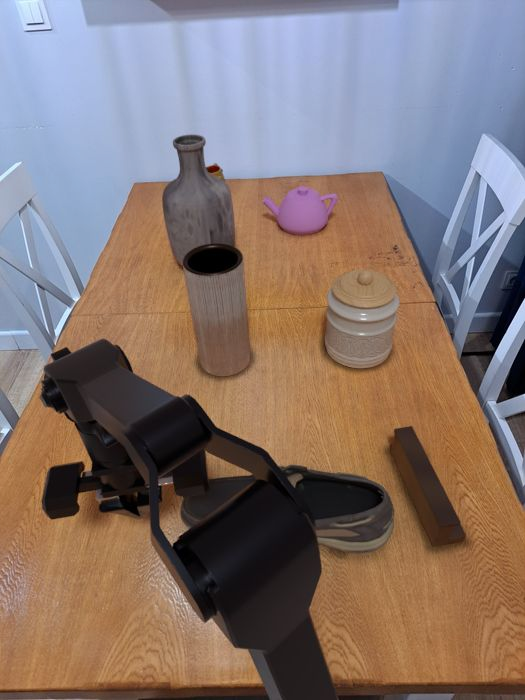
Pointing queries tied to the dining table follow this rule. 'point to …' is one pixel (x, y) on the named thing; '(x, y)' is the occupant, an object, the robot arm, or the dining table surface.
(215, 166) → the mug
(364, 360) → the jar
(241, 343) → the planter
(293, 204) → the teapot
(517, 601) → the dining table surface
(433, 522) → the dark walnut bar
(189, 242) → the vase
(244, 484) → the boat shoe
